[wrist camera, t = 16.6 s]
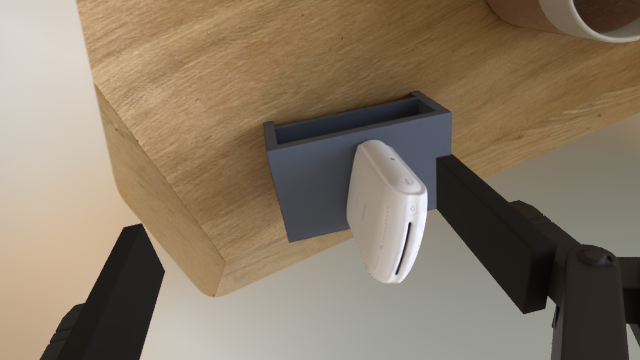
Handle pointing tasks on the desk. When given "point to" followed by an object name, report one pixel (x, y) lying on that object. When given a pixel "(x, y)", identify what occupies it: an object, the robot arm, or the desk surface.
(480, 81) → the desk surface
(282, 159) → the shelf
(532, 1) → the planter
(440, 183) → the robot arm
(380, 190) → the photo printer
